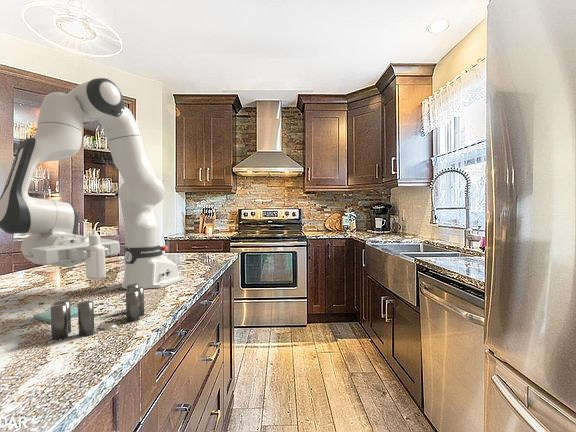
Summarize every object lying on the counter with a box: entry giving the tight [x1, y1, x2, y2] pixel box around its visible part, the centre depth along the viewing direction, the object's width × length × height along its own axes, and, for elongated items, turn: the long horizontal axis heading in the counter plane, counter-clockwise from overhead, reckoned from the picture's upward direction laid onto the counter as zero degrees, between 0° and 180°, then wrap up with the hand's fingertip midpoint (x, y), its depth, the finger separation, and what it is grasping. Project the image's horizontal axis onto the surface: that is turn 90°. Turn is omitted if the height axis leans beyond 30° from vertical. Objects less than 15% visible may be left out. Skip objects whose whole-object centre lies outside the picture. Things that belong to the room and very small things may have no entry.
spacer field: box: [49, 284, 145, 341], centre depth 82 cm, size 23×10×7 cm, turn 151°
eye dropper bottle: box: [85, 229, 107, 281], centre depth 85 cm, size 4×6×12 cm
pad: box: [33, 305, 78, 324], centre depth 90 cm, size 9×9×1 cm
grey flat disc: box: [100, 322, 119, 331], centre depth 80 cm, size 4×4×1 cm
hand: (97, 252), depth 85 cm, fingers closed on eye dropper bottle, 3 cm apart
